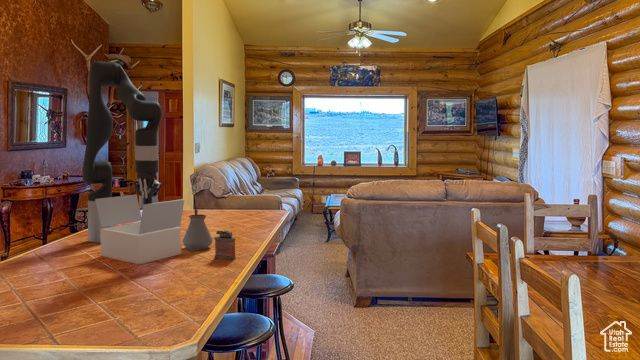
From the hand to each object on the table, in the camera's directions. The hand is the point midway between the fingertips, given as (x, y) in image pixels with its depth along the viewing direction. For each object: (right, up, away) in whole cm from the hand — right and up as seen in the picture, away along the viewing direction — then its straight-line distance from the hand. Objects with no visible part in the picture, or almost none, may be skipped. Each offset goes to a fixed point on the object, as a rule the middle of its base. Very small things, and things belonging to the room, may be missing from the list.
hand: (147, 208), depth 166 cm
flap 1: (-16, -2, +14) cm, 21 cm away
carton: (-6, -18, +9) cm, 21 cm away
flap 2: (+5, -3, +1) cm, 5 cm away
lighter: (+26, -18, +5) cm, 32 cm away
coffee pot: (+11, -17, +25) cm, 32 cm away
